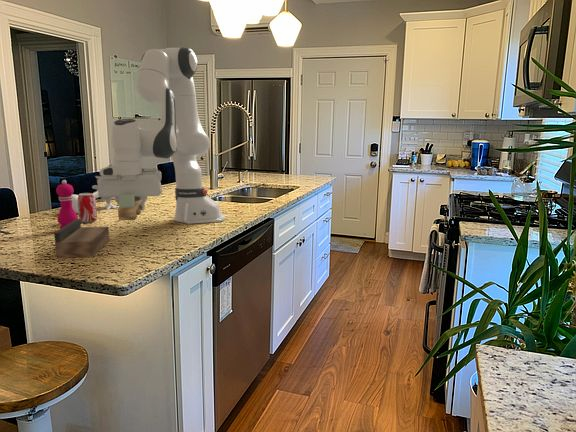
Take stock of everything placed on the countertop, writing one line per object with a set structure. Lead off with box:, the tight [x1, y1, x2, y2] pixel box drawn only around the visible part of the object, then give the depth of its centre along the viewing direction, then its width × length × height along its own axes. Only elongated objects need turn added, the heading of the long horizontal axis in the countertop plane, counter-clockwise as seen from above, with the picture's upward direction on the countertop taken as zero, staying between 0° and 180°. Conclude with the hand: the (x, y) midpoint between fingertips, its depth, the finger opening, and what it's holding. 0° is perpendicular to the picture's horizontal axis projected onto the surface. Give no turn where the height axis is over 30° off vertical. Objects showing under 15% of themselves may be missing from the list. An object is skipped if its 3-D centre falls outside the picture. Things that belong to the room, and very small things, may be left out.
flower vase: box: [72, 175, 119, 215], centre depth 209 cm, size 13×18×25 cm
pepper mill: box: [55, 179, 79, 230], centre depth 171 cm, size 7×7×20 cm
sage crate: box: [118, 193, 135, 208], centre depth 141 cm, size 4×4×4 cm
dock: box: [53, 218, 110, 258], centre depth 148 cm, size 11×20×8 cm, turn 8°
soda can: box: [77, 192, 98, 224], centre depth 187 cm, size 7×7×12 cm
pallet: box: [117, 199, 146, 222], centre depth 148 cm, size 5×18×4 cm, turn 8°
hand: (132, 209), depth 148 cm, fingers closed on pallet, 5 cm apart
